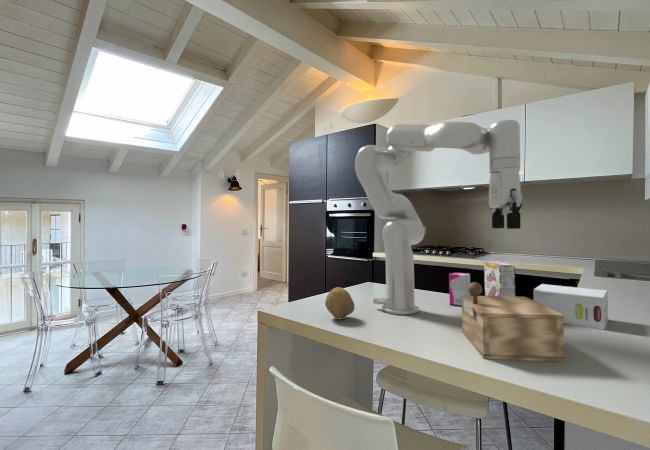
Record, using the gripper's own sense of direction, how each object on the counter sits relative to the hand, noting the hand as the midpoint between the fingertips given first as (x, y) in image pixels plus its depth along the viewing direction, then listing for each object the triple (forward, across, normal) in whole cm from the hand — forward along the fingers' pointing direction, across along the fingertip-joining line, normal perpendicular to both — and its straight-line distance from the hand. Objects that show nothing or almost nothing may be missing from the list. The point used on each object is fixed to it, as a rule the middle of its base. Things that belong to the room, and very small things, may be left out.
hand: (505, 228), depth 91 cm
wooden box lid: (+21, +12, -6) cm, 24 cm away
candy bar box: (+28, -18, +5) cm, 34 cm away
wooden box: (+28, +12, -5) cm, 31 cm away
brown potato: (+28, -9, -47) cm, 56 cm away
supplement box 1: (+28, -29, -4) cm, 41 cm away
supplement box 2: (+28, -12, +23) cm, 38 cm away
